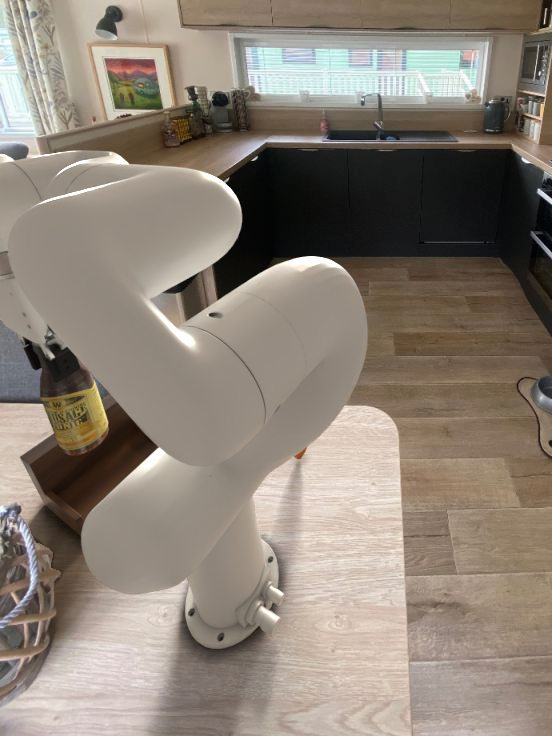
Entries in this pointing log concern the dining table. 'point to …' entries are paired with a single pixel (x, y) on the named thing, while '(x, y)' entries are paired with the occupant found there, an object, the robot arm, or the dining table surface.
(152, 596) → the dining table surface
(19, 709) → the dining table surface
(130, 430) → the brown wooden box
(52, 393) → the sauce bottle
